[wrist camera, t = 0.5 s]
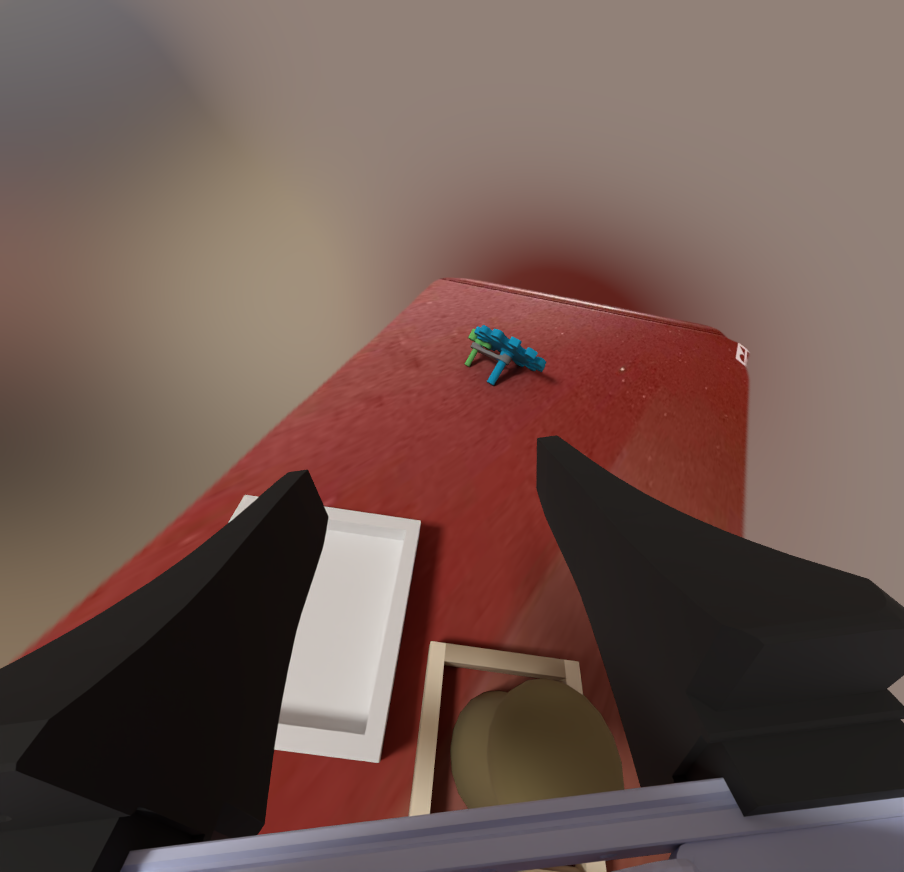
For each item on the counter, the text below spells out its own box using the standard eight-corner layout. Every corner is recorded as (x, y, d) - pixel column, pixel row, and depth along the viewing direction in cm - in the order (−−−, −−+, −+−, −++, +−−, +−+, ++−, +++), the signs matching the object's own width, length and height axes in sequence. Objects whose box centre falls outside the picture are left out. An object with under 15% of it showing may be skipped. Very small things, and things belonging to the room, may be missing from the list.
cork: (542, 693, 23) (624, 666, 15) (557, 832, 19) (682, 901, 10) (452, 687, 22) (484, 655, 14) (447, 826, 18) (488, 894, 10)
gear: (557, 370, 45) (537, 338, 36) (533, 409, 45) (509, 387, 37) (491, 342, 50) (460, 308, 42) (471, 377, 51) (436, 351, 42)
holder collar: (597, 900, 17) (611, 911, 16) (401, 877, 17) (401, 886, 16) (570, 665, 24) (578, 661, 23) (429, 645, 24) (430, 641, 23)
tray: (380, 761, 20) (378, 762, 18) (133, 729, 19) (106, 727, 17) (419, 535, 29) (420, 520, 27) (254, 510, 29) (245, 494, 27)
